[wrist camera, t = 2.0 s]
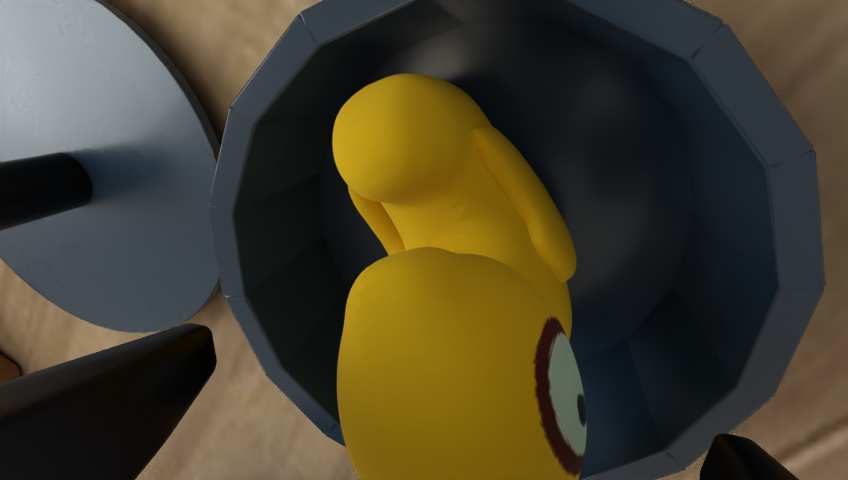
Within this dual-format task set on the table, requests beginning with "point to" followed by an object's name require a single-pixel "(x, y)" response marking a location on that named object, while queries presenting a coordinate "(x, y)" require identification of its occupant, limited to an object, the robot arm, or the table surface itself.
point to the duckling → (454, 297)
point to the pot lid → (103, 168)
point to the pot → (571, 193)
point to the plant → (7, 370)
